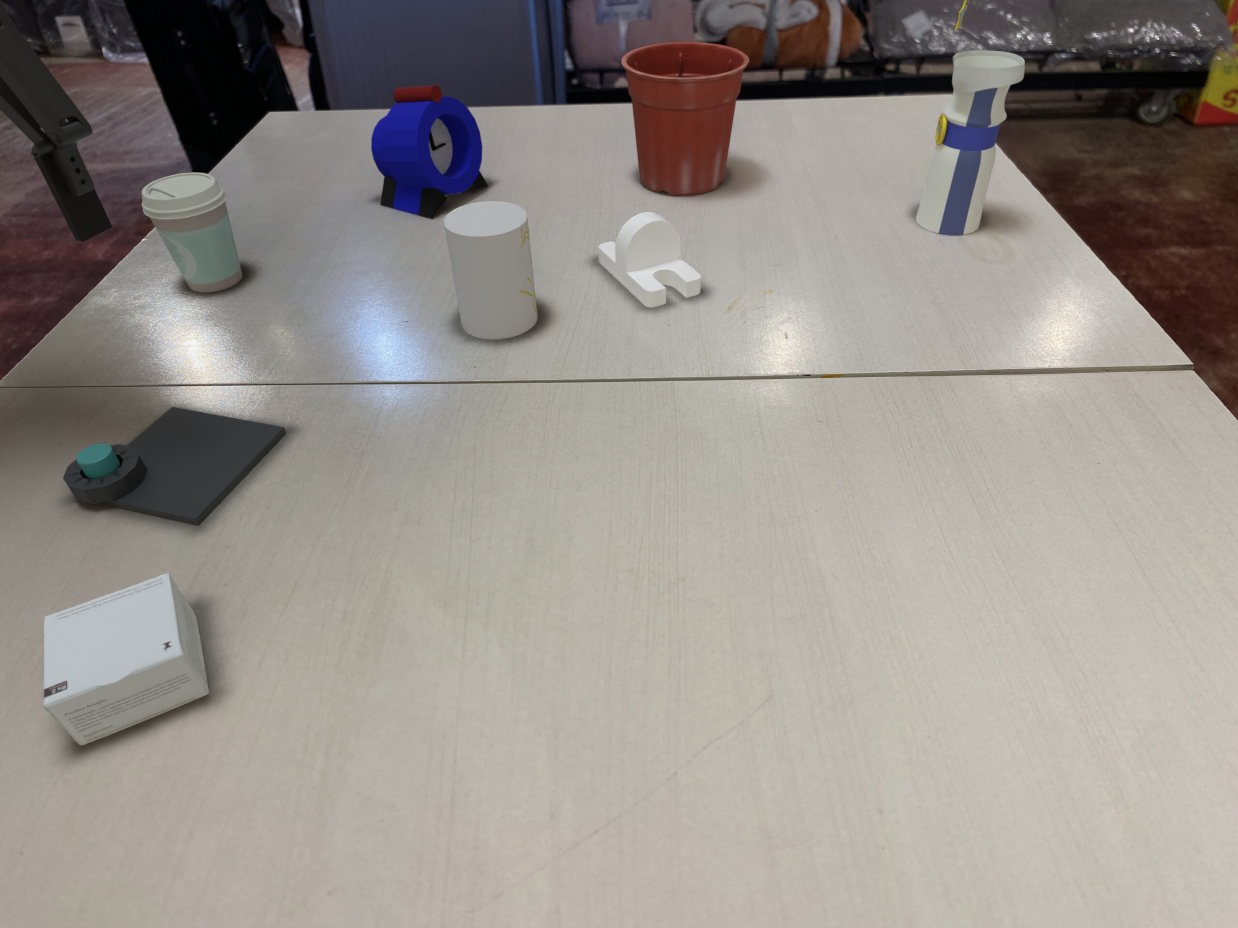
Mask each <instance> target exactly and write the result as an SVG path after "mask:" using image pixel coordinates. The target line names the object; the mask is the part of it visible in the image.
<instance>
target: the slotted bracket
mask: <svg viewBox="0 0 1238 928" xmlns="http://www.w3.org/2000/svg"><path fill="white" fill-rule="evenodd" d="M681 247H682V244H681V235H680V233H679V231H678V229H677V228H676V227H675V225H673V224H672V223H671V222H669V221H668V220H667V219H666V218H664V217H663V216H661V215H660V214H658V213H656V212H653V211H645V212H640V213H637V214H635V215H634V216H632V217H630V218H629V219H628V220H627V221H626V222H625V223H624V224H623V225H622V227H621V228H620V230H619V231H618V234H617V237H616V239H615V242H614V240H611V241H606V242H603V243H600V244H599V245H598V247H597V248H598V263H599V264H600V265H601V266H602V267H603V268H604V269H605V270H606V271H608V272H609V274H610V275H612V276H613V277H614V278H615V279H616V280H617V281H618V282H619V283H620V284H621V285H622V286H623V287H624V288H625V289H626V290H628V291H629V292H630V293H631V294H632V295H633V296H634V297H635V298H636V299H637V300H638V301H639V302H640V303H642V305H643V306H645V307H647V308H657V307H661V306H664V305H666V304H667V287H665V286H669V287H673V288H674V289H675V290H676V291H678V292H679V294H681V295H682V296H683V297H685V298H686V299H688V298H689V299H690V298H692V297H695V296H696V297H697V296H698V295H700V294H701V289H702V287H701V286H702V274H701V273H699V272H698V271H697V270H696V269H694V268H693V267H692V266H691V265H689V264H688V263H687V262H686V261H684V260H683V259H682V258H681V250H682V248H681Z"/></svg>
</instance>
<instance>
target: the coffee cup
mask: <svg viewBox="0 0 1238 928" xmlns="http://www.w3.org/2000/svg"><path fill="white" fill-rule="evenodd" d="M141 198H142V199H141V200H142V201H141V207H142V212H143V214H144V215H145V216H147V217H149V219H150V221H151V222H152V224H153V226H154V227H155V230H156V231H157V233H158V235H159V237H160V238H161V240H162V242H163V244H164V245H165V248H166V249H167V251H168V253H169V254H170V256H171V258H172V260H173V262H174V263H175V265H176V266H177V268H178V270H179V272H180V273H181V275H182V277H183V279H184V280H185V282H186V284H187V286H188V287H189V289H190V290H192V291H193V292H197V293H215V292H219V291H223V290H227V289H229V288H231V287H234V286H235V285H237V284H238V283H239V282H240V281H242V279H243V272H242V267H241V266H242V265H241V262H240V258H239V254H238V248H237V245H236V241H235V236H234V233H233V227H232V224H231V219H230V215H229V210H228V207H227V202H226V200H227V193H226V192H225V190H224V188H223V186H221V184H220V183H219V182H218V181H217V179H216V178H215V176H213V175H211V174H210V173H209V174H208V173H206V172H183V173H176V174H175V173H174V174H171V175H167V176H163V177H161V178H158V179H155V180H153V181H151V182H149V183H148V184H146V185H145V186H144V187H143V188H142V189H141Z"/></svg>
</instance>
